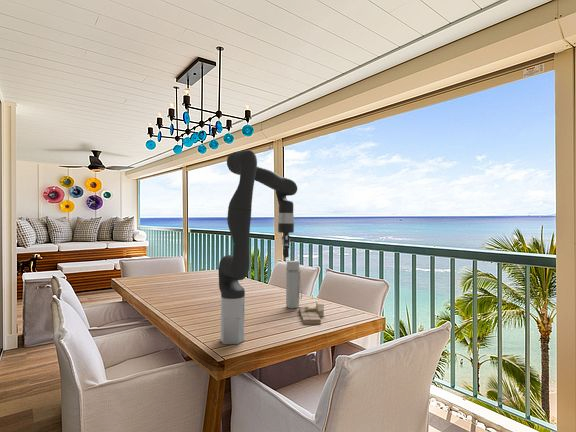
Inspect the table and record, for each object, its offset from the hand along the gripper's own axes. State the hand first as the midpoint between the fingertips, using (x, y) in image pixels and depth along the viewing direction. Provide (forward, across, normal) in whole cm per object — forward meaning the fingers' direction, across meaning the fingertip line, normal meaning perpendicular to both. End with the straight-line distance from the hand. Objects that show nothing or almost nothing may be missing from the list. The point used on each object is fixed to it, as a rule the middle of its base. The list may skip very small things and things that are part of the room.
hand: (285, 256), depth 156 cm
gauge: (+30, +8, -15) cm, 35 cm away
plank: (+30, +4, -12) cm, 33 cm away
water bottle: (+30, +22, -6) cm, 38 cm away
